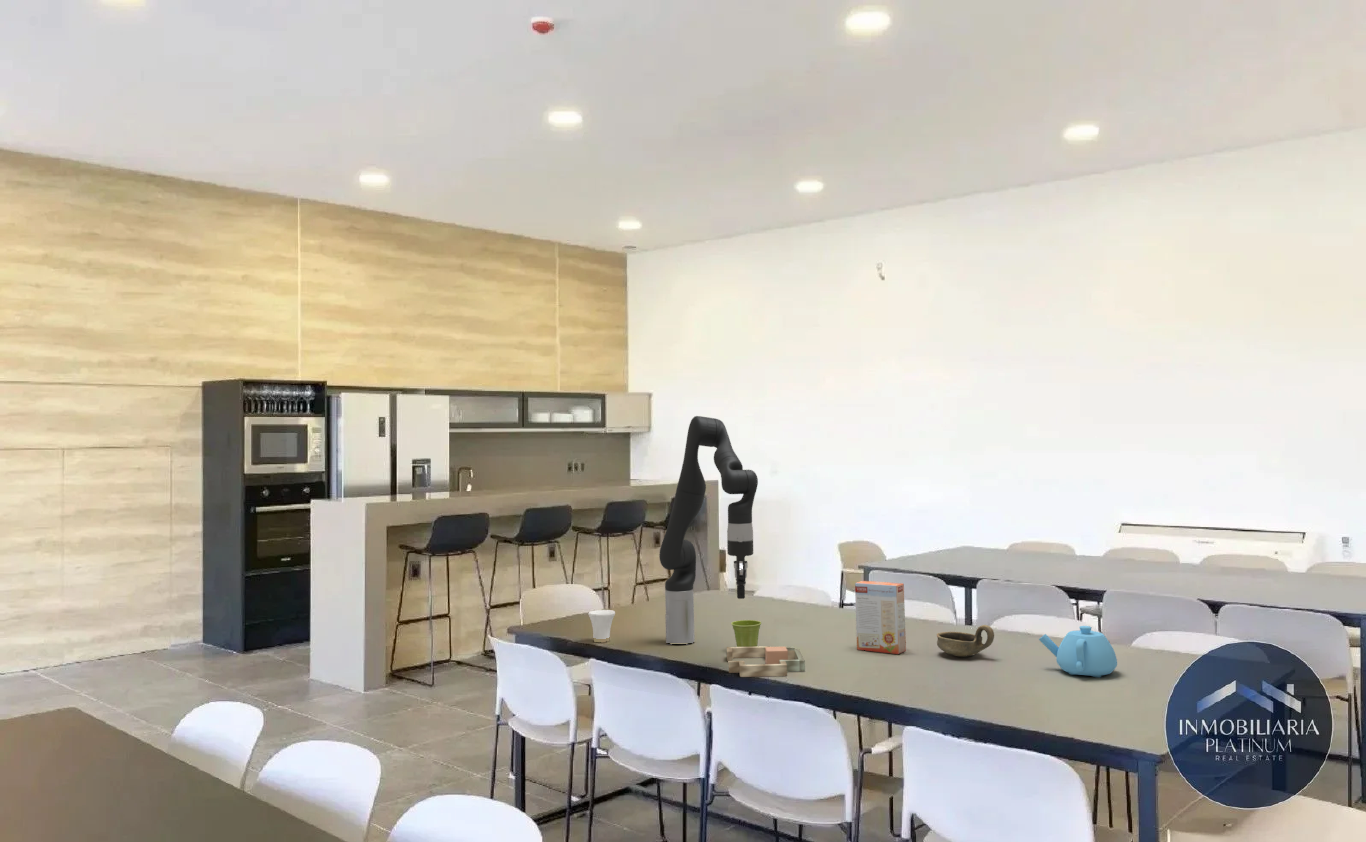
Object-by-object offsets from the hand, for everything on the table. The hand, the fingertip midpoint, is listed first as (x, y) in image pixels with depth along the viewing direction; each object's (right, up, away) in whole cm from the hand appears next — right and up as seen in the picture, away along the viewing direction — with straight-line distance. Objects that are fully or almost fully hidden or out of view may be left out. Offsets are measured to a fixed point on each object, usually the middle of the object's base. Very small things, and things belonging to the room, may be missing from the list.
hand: (740, 598), depth 284 cm
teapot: (+91, -18, -16) cm, 94 cm away
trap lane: (+6, -20, 0) cm, 21 cm away
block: (+10, -20, 0) cm, 22 cm away
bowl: (+67, -19, +6) cm, 70 cm away
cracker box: (+44, -19, +16) cm, 51 cm away
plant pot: (+3, -20, +21) cm, 29 cm away
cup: (-44, -22, +40) cm, 63 cm away
